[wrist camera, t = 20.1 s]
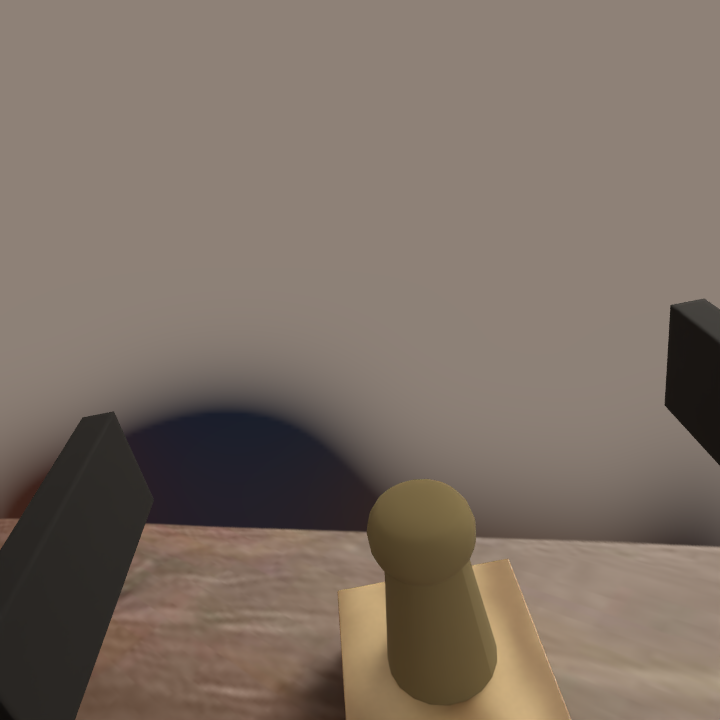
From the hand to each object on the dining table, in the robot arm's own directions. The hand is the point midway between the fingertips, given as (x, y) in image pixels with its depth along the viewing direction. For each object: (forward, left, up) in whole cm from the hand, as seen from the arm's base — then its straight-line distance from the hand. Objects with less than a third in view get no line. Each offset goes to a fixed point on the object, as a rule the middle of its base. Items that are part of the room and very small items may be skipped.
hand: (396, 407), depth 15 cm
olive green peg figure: (-1, +10, -23) cm, 25 cm away
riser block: (-2, +10, -28) cm, 30 cm away
